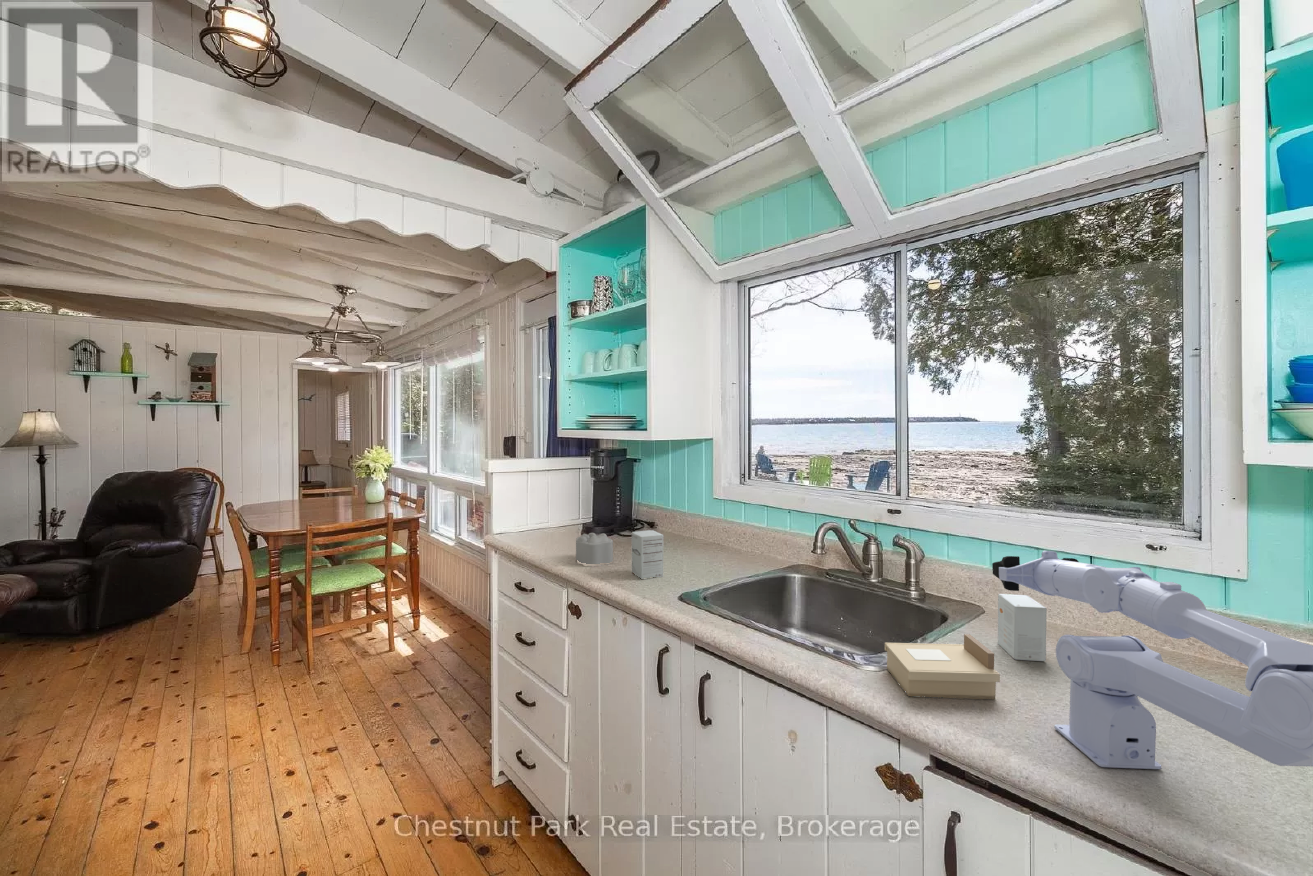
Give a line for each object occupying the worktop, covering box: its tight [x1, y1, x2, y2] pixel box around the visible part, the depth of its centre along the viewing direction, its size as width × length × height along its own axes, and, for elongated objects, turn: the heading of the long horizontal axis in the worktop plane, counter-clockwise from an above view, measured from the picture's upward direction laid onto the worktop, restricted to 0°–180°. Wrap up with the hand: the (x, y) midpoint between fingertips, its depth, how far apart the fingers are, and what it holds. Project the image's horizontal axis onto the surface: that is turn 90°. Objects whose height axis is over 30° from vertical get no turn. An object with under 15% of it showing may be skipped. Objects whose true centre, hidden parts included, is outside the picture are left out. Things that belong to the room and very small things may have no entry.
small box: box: [997, 593, 1048, 662], centre depth 108 cm, size 8×6×10 cm
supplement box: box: [631, 529, 664, 580], centre depth 161 cm, size 7×7×13 cm
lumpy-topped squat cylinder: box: [575, 532, 614, 564], centre depth 177 cm, size 10×13×9 cm
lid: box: [884, 633, 1001, 683], centre depth 95 cm, size 12×14×4 cm
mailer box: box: [886, 648, 997, 701], centre depth 96 cm, size 10×14×4 cm
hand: (1016, 569), depth 97 cm, fingers open, 7 cm apart
